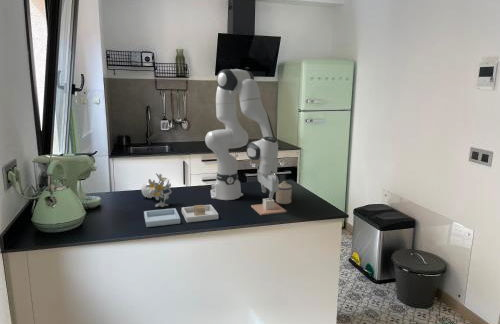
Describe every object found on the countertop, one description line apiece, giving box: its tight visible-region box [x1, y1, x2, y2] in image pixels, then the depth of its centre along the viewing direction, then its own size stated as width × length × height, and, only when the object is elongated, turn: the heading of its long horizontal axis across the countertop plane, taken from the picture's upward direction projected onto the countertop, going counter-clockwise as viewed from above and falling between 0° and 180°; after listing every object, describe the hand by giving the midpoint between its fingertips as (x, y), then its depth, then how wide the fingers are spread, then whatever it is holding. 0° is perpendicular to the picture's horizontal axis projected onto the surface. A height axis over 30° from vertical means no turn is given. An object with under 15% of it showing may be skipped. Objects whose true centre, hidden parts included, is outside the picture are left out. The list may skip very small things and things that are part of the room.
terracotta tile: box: [250, 202, 287, 216], centre depth 191 cm, size 14×14×1 cm
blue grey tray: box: [143, 207, 181, 228], centre depth 173 cm, size 15×15×3 cm
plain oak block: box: [193, 204, 205, 216], centre depth 179 cm, size 4×4×4 cm
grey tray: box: [181, 204, 219, 223], centre depth 179 cm, size 15×15×3 cm
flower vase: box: [141, 173, 173, 208], centre depth 201 cm, size 13×18×25 cm
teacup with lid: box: [275, 180, 293, 205], centre depth 204 cm, size 12×9×12 cm
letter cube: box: [262, 197, 275, 210], centre depth 190 cm, size 4×4×5 cm
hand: (267, 195), depth 190 cm, fingers open, 8 cm apart
